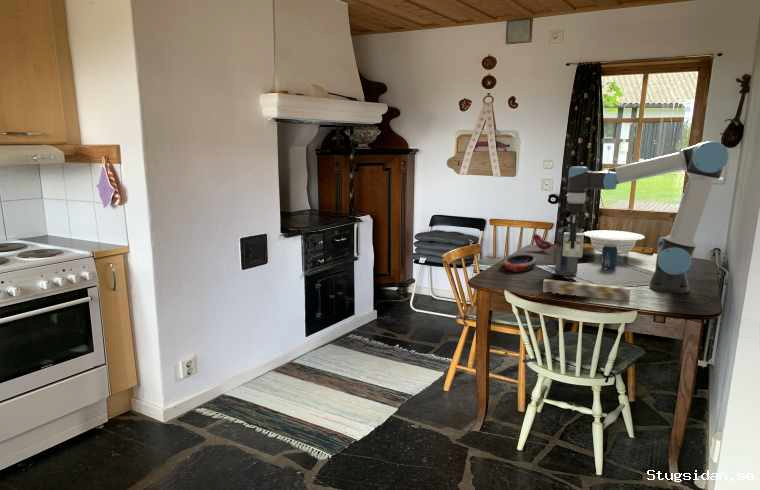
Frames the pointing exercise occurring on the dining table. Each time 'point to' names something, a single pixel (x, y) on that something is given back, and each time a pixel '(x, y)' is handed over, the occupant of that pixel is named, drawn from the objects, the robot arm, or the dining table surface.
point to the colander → (613, 239)
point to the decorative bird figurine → (542, 243)
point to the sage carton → (578, 244)
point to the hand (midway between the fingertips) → (572, 254)
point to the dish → (519, 262)
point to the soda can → (609, 256)
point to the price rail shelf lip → (587, 290)
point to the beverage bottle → (564, 263)
